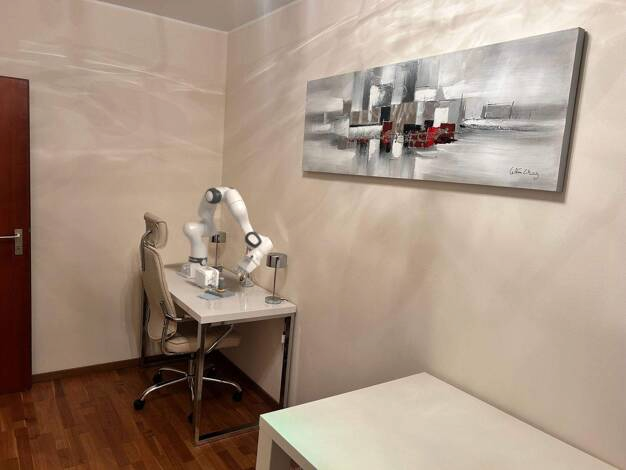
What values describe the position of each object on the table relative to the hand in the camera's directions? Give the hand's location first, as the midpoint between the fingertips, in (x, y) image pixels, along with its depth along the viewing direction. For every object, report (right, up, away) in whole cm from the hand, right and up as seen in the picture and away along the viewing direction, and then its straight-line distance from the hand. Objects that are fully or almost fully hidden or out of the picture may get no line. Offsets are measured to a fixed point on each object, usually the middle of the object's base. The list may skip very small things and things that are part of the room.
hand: (236, 273), depth 300 cm
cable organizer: (-22, -10, +14) cm, 28 cm away
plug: (-10, -12, -2) cm, 16 cm away
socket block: (-10, -12, -2) cm, 16 cm away
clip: (-18, -8, 0) cm, 20 cm away
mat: (-15, -13, -11) cm, 23 cm away
